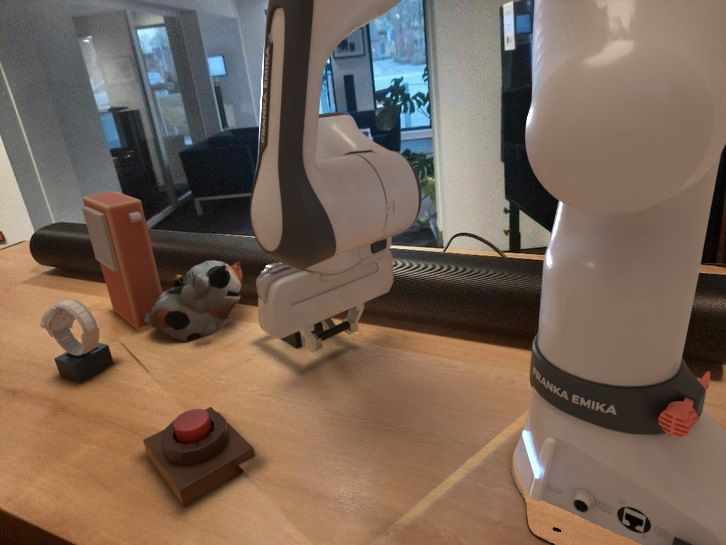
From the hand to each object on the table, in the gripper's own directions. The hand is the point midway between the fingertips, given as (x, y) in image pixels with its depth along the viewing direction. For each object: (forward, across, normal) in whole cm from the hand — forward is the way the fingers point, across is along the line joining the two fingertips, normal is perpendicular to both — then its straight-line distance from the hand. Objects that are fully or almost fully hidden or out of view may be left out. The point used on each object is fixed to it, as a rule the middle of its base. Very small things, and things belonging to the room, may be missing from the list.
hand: (333, 339), depth 68 cm
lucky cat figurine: (+5, -8, +26) cm, 27 cm away
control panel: (+6, -14, +38) cm, 41 cm away
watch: (+5, -26, +26) cm, 37 cm away
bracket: (+4, 0, +8) cm, 9 cm away
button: (0, -22, -4) cm, 22 cm away
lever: (-3, 0, +5) cm, 6 cm away
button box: (+4, -22, -4) cm, 23 cm away
